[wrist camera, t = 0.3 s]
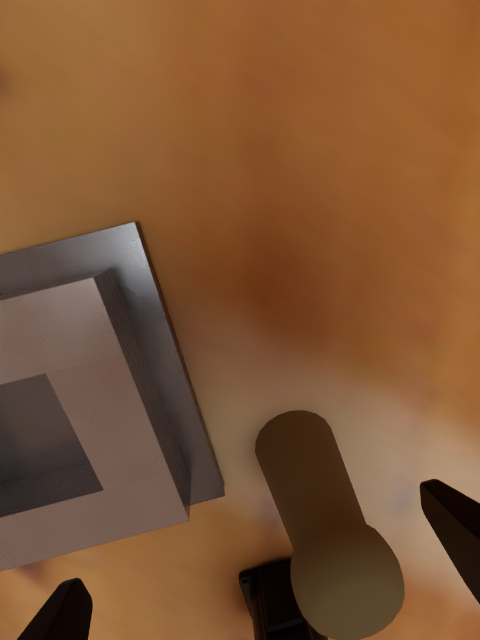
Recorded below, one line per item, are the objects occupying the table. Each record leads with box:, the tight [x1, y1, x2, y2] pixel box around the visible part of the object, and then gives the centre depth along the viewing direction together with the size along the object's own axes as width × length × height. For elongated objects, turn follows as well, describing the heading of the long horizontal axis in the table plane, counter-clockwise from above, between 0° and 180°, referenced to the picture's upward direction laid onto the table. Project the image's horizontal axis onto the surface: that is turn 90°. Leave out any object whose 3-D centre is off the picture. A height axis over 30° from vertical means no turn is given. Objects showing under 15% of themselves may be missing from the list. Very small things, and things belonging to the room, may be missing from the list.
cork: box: [255, 411, 404, 640], centre depth 19 cm, size 6×6×11 cm
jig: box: [0, 222, 225, 571], centre depth 19 cm, size 20×20×4 cm
